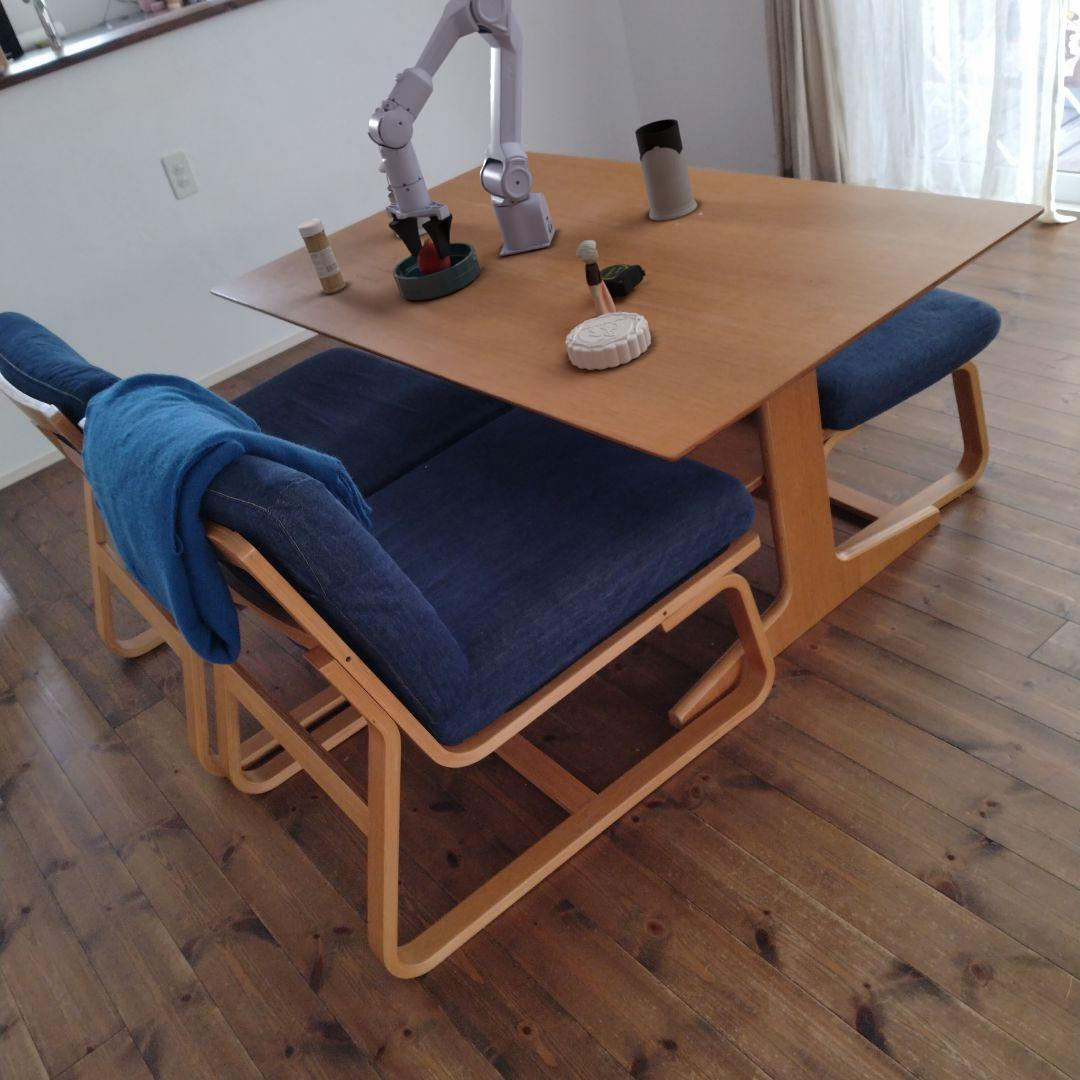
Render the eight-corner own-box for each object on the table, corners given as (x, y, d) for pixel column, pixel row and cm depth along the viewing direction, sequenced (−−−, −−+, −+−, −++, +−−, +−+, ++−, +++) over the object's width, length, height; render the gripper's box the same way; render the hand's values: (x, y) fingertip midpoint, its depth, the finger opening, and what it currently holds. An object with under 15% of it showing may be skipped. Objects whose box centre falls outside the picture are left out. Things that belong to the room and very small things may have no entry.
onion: (450, 284, 196) (436, 242, 192) (421, 290, 198) (406, 248, 194) (458, 271, 201) (445, 229, 197) (429, 276, 203) (416, 235, 198)
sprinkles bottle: (342, 281, 215) (316, 215, 208) (349, 287, 212) (323, 220, 204) (320, 291, 214) (294, 225, 207) (327, 296, 210) (300, 229, 203)
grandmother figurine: (624, 324, 164) (604, 243, 157) (599, 332, 164) (579, 252, 157) (610, 307, 171) (591, 229, 164) (587, 315, 171) (567, 237, 164)
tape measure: (627, 303, 170) (622, 281, 168) (590, 303, 174) (584, 281, 172) (648, 284, 174) (643, 261, 172) (611, 283, 178) (606, 262, 176)
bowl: (488, 258, 204) (481, 235, 201) (471, 292, 192) (463, 268, 189) (412, 274, 208) (404, 251, 206) (391, 308, 196) (383, 285, 193)
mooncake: (573, 379, 154) (566, 356, 152) (567, 344, 164) (561, 322, 162) (656, 356, 153) (651, 333, 151) (646, 323, 163) (640, 300, 161)
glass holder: (646, 223, 197) (628, 140, 189) (656, 195, 208) (639, 115, 200) (694, 214, 194) (678, 129, 186) (702, 186, 205) (687, 105, 197)
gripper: (364, 190, 192) (390, 263, 200) (417, 191, 183) (443, 267, 190) (393, 174, 196) (417, 246, 203) (447, 174, 186) (470, 250, 194)
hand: (431, 255), depth 197 cm, fingers open, 7 cm apart
